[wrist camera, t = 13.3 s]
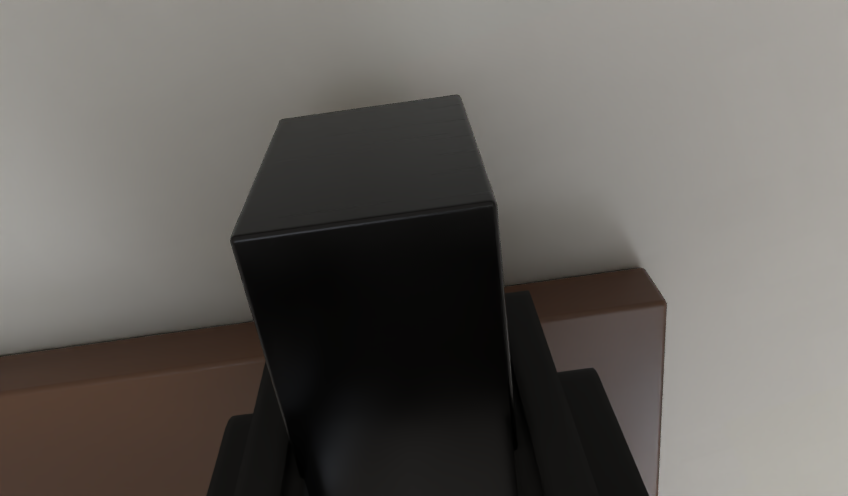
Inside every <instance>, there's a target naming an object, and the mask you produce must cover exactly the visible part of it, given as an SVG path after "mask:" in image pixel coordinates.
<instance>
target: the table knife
mask: <svg viewBox="0 0 848 496" xmlns="http://www.w3.org/2000/svg"><path fill="white" fill-rule="evenodd" d="M230 243H231V246H232V249H233V253H234V256H235V260H236V263H237V266H238V270H239V273H240V276H241V280H242V283H243V287H244V290H245V293H246V297H247V300H248V303H249V307H250V310H251V313H252V317H253V320H254V324H255V327H256V330H257V334H258V337H259V340H260V344H261V347H262V350H263V354H264V357H265V361H266V364H267V367H268V371H269V374H270V377H271V381H272V384H273V388H274V391H275V394H276V398H277V401H278V404H279V408H280V411H281V414H282V418H283V421H284V425H285V428H286V431H287V435H288V438H289V441H290V445H291V448H292V451H293V455H294V458H295V462H296V465H297V468H298V472H299V475H300V478H303V479H304V480H305V483H306V487H307V490H308V493H309V496H518V490H517V479H516V469H515V458H514V451H515V450H517V448H518V441H517V430H516V418H515V406H514V395H513V383H512V371H511V360H510V348H509V336H508V325H507V313H506V301H505V290H504V278H503V266H502V255H501V243H500V231H499V220H498V208H497V202H496V199H495V196H494V193H493V191H492V188H491V185H490V182H489V179H488V176H487V173H486V170H485V167H484V164H483V161H482V158H481V155H480V152H479V149H478V146H477V143H476V140H475V137H474V134H473V131H472V128H471V126H470V123H469V120H468V117H467V114H466V111H465V108H464V105H463V102H462V99H461V97H460V95H450V96H443V97H436V98H429V99H422V100H415V101H408V102H400V103H393V104H386V105H379V106H372V107H365V108H358V109H351V110H343V111H336V112H329V113H322V114H315V115H308V116H301V117H294V118H286V119H282V120H280V121H279V123H278V126H277V128H276V130H275V133H274V135H273V138H272V140H271V142H270V145H269V147H268V149H267V152H266V154H265V157H264V159H263V161H262V164H261V166H260V168H259V171H258V173H257V176H256V178H255V180H254V183H253V185H252V187H251V190H250V192H249V195H248V197H247V199H246V202H245V204H244V206H243V209H242V211H241V214H240V216H239V218H238V221H237V223H236V226H235V228H234V230H233V233H232V235H231V238H230Z"/></svg>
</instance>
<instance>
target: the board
mask: <svg viewBox="0 0 848 496" xmlns="http://www.w3.org/2000/svg"><path fill="white" fill-rule="evenodd" d="M504 290H505V293H510V292H518V291H525V290H529V292H530V294H531V297H532V300H533V303H534V305H535V308H536V311H537V314H538V317H539V320H540V323H541V326H542V329H543V332H544V335H545V338H546V341H547V344H548V347H549V350H550V352H551V355H552V358H553V361H554V364H555V367H556V370H557V372H563V371H570V370H577V369H585V368H592V367H593V368H594V369H595V370H596V372H597V373H598V375H599V377H600V380H601V382H602V384H603V387H604V389H605V392H606V394H607V396H608V399H609V401H610V404H611V406H612V408H613V411H614V413H615V415H616V418H617V420H618V423H619V425H620V427H621V430H622V432H623V435H624V437H625V439H626V442H627V444H628V447H629V449H630V451H631V454H632V456H633V458H634V461H635V463H636V466H637V468H638V470H639V473H640V475H641V478H642V480H643V482H644V485H645V487H646V489H647V492H648V494H649V496H658V481H659V459H660V438H661V417H662V396H663V375H664V353H665V332H666V311H667V303H666V301H665V299H664V298H663V296H662V295H661V293H660V291H659V290H658V288H657V287H656V285H655V284H654V282H653V281H652V279H651V278H650V276H649V275H648V273H647V272H646V270H645V269H644V268H634V269H627V270H620V271H613V272H606V273H598V274H591V275H584V276H577V277H570V278H562V279H555V280H548V281H541V282H534V283H526V284H519V285H512V286H505V287H504ZM264 365H265V357H264V354H263V350H262V347H261V344H260V340H259V337H258V334H257V330H256V327H255V324H254V321H252V322H245V323H238V324H231V325H224V326H216V327H209V328H202V329H195V330H188V331H180V332H173V333H166V334H159V335H151V336H144V337H137V338H130V339H123V340H115V341H108V342H101V343H94V344H87V345H79V346H72V347H65V348H58V349H51V350H43V351H36V352H29V353H22V354H14V355H7V356H0V496H206V495H207V492H208V488H209V485H210V481H211V478H212V474H213V470H214V467H215V463H216V460H217V456H218V452H219V449H220V445H221V442H222V438H223V435H224V431H225V427H226V425H227V423H228V420H229V419H230V418H231V417H232V416H236V415H243V414H251V413H253V412H254V407H255V403H256V399H257V395H258V390H259V386H260V382H261V378H262V374H263V369H264Z"/></svg>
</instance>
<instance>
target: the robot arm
mask: <svg viewBox="0 0 848 496" xmlns="http://www.w3.org/2000/svg"><path fill="white" fill-rule="evenodd" d="M505 301H506V313H507V325H508V336H509V348H510V360H511V371H512V383H513V395H514V406H515V418H516V430H517V441H518V448H517V450H515V451H514V458H515V469H516V479H517V490H518V496H649V494H648V492H647V489H646V487H645V485H644V482H643V480H642V478H641V475H640V473H639V470H638V468H637V466H636V463H635V461H634V458H633V456H632V454H631V451H630V449H629V447H628V444H627V442H626V439H625V437H624V435H623V432H622V430H621V427H620V425H619V423H618V420H617V418H616V415H615V413H614V411H613V408H612V406H611V404H610V401H609V399H608V396H607V394H606V392H605V389H604V387H603V384H602V382H601V380H600V377H599V375H598V373H597V372H596V370H595V369H594V368H593V367H592V368H585V369H577V370H570V371H563V372H557V370H556V367H555V364H554V361H553V358H552V355H551V352H550V350H549V347H548V344H547V341H546V338H545V335H544V332H543V329H542V326H541V323H540V320H539V317H538V314H537V311H536V308H535V305H534V303H533V300H532V297H531V294H530V292H529V290H525V291H518V292H510V293H505ZM206 496H309V493H308V490H307V487H306V483H305V480H304V479H303V478H300V475H299V472H298V468H297V465H296V462H295V458H294V455H293V451H292V448H291V445H290V441H289V438H288V435H287V431H286V428H285V425H284V421H283V418H282V414H281V411H280V408H279V404H278V401H277V398H276V394H275V391H274V388H273V384H272V381H271V377H270V374H269V371H268V367H267V364H266V361H265V365H264V369H263V374H262V378H261V382H260V386H259V390H258V395H257V399H256V403H255V407H254V412H253V413H251V414H243V415H236V416H232V417H231V418H230V419H229V420H228V423H227V425H226V427H225V431H224V435H223V438H222V442H221V445H220V449H219V452H218V456H217V460H216V463H215V467H214V470H213V474H212V478H211V481H210V485H209V488H208V492H207V495H206Z"/></svg>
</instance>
